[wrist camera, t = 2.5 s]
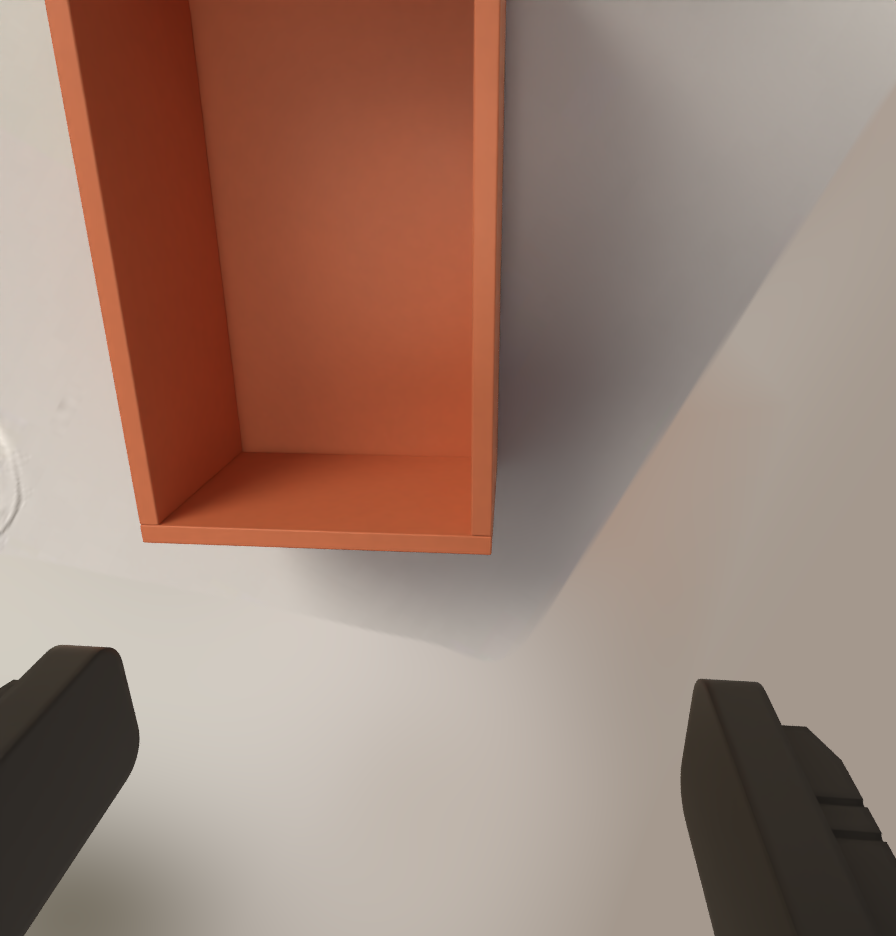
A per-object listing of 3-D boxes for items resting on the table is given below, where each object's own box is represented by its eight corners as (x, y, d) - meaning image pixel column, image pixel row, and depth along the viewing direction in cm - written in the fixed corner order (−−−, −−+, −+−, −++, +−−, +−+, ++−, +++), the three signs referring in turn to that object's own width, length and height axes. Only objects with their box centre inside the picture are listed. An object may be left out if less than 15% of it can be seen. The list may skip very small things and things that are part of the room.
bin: (170, -59, 25) (9, -187, 17) (507, -74, 24) (504, -218, 16) (235, 461, 32) (142, 542, 24) (497, 467, 31) (491, 555, 23)
